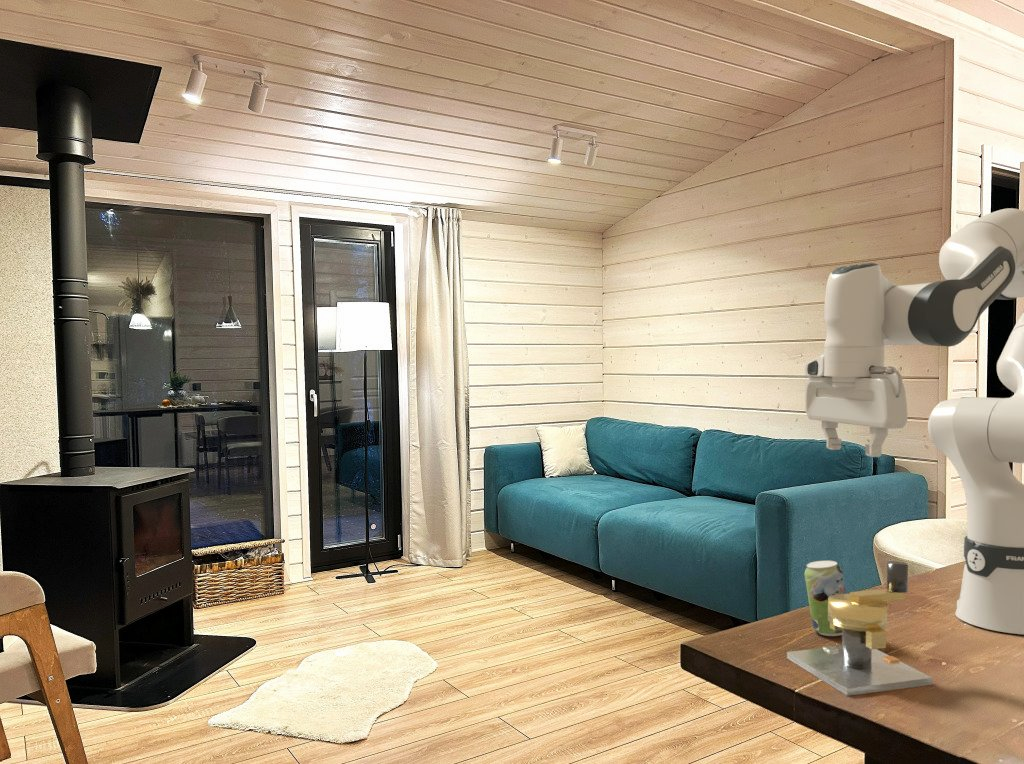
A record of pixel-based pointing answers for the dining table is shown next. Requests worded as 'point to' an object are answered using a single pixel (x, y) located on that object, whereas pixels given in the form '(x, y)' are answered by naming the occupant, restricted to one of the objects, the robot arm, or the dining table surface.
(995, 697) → the dining table surface
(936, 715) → the dining table surface
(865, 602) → the brass crank handle
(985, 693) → the dining table surface
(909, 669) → the post plate
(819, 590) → the beverage can
